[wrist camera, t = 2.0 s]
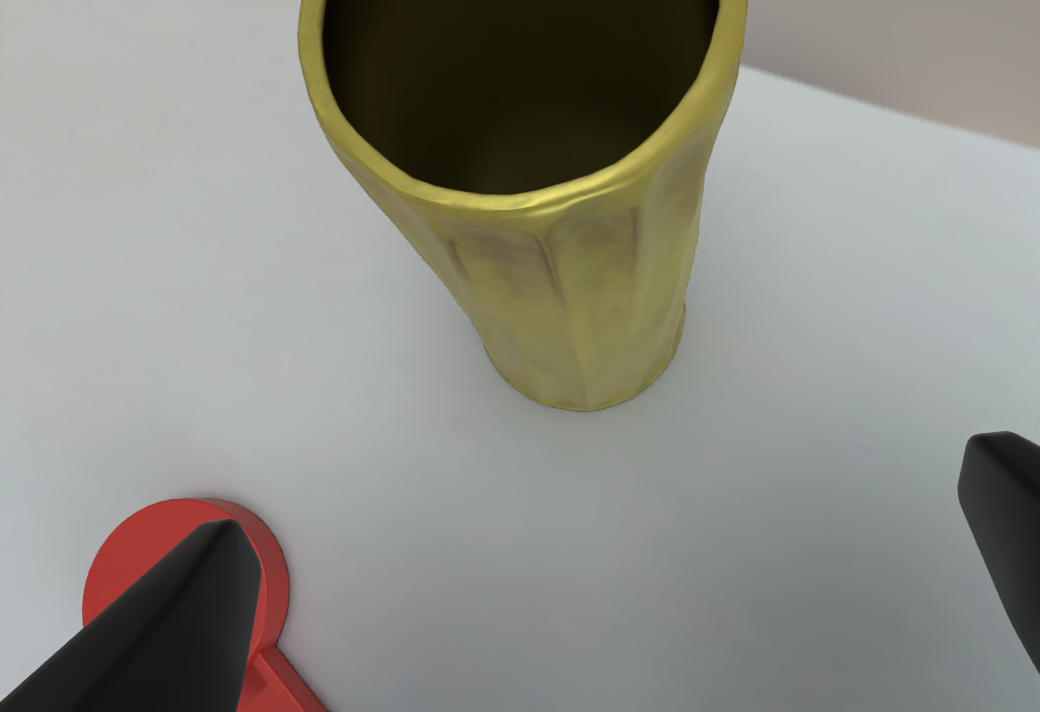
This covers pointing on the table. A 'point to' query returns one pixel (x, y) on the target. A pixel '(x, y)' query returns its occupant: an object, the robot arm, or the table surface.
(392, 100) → the vase
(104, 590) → the spoon
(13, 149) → the table surface
